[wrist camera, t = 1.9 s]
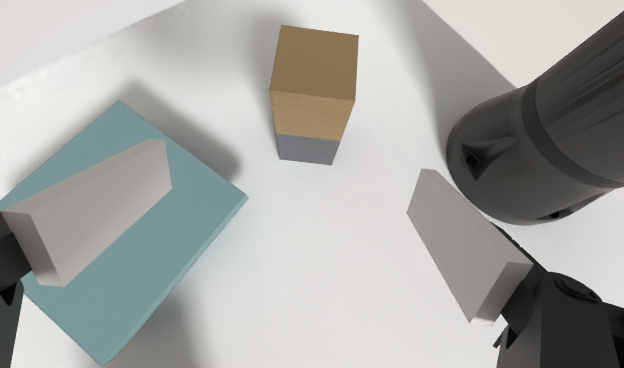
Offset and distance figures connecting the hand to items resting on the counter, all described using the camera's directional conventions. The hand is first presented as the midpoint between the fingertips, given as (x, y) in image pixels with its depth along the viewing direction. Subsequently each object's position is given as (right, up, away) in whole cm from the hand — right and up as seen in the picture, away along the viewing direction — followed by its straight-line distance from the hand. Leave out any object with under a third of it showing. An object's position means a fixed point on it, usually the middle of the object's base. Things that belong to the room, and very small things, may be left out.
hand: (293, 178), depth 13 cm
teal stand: (-16, -4, +13) cm, 21 cm away
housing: (+1, +5, +17) cm, 17 cm away
